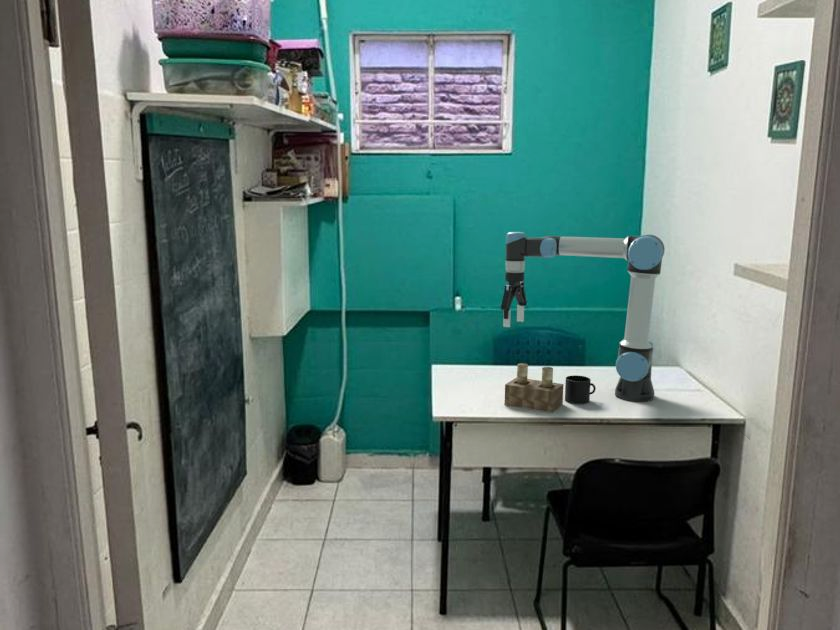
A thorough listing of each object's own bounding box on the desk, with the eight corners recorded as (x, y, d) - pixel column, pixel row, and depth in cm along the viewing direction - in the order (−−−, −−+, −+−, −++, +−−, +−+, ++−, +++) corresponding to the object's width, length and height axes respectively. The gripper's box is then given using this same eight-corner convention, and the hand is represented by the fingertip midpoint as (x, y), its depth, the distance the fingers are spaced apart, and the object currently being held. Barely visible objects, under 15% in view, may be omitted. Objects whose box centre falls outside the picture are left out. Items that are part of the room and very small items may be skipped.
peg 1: (528, 384, 268) (529, 364, 267) (524, 386, 265) (525, 366, 263) (518, 383, 270) (519, 363, 269) (515, 385, 266) (515, 365, 265)
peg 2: (553, 388, 263) (554, 367, 262) (550, 390, 260) (551, 369, 258) (543, 386, 265) (544, 366, 264) (539, 389, 262) (540, 368, 260)
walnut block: (562, 404, 267) (563, 384, 265) (552, 412, 256) (553, 391, 255) (516, 396, 276) (516, 377, 274) (504, 404, 265) (505, 384, 264)
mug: (599, 403, 268) (600, 381, 266) (569, 404, 266) (570, 382, 264) (590, 396, 277) (591, 374, 275) (561, 397, 275) (562, 375, 274)
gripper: (518, 268, 287) (517, 318, 291) (492, 273, 266) (491, 328, 270) (535, 269, 283) (534, 320, 287) (510, 275, 262) (509, 330, 266)
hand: (513, 324), depth 278 cm, fingers open, 13 cm apart
